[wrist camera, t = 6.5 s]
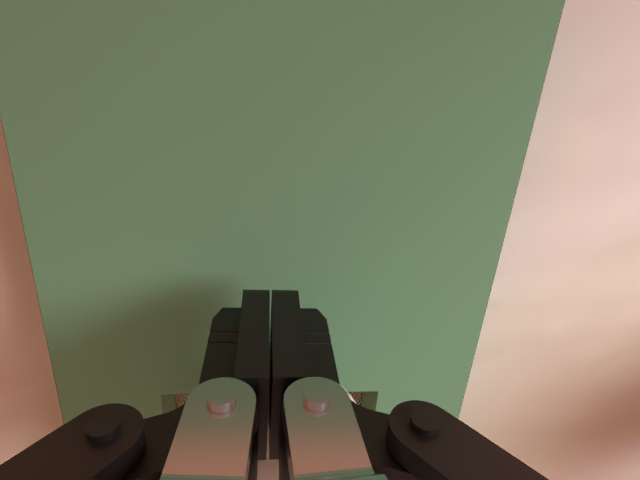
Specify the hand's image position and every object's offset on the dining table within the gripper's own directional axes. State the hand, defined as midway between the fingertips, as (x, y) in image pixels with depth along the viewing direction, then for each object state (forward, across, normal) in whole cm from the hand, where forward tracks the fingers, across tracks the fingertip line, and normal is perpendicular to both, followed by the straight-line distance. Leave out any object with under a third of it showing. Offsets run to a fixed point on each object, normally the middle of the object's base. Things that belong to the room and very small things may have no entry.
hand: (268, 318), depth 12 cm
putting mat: (+4, 0, +4) cm, 6 cm away
